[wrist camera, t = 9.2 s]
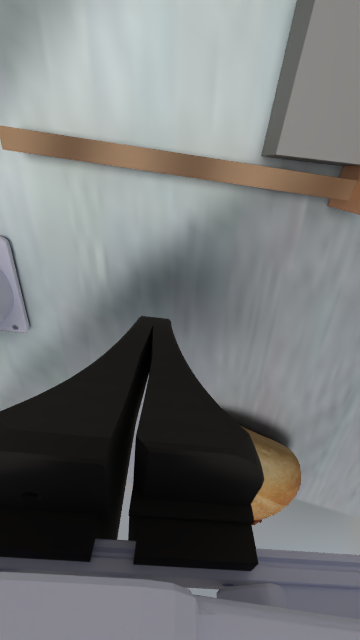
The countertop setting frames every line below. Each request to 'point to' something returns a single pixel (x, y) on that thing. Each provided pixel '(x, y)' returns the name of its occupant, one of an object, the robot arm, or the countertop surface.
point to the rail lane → (189, 165)
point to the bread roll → (274, 477)
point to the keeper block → (319, 87)
